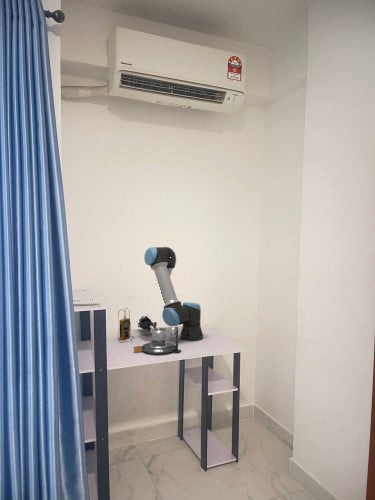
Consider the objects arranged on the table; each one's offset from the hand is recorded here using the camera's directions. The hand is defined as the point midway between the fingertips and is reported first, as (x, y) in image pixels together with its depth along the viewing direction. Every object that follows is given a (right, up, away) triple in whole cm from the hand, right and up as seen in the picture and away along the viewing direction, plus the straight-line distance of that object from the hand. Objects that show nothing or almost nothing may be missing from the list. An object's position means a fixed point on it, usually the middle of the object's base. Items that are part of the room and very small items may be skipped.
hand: (153, 330), depth 228 cm
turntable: (+2, -8, -14) cm, 16 cm away
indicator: (+14, -9, -16) cm, 23 cm away
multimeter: (-16, -8, +7) cm, 19 cm away
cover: (+4, -7, -14) cm, 16 cm away
